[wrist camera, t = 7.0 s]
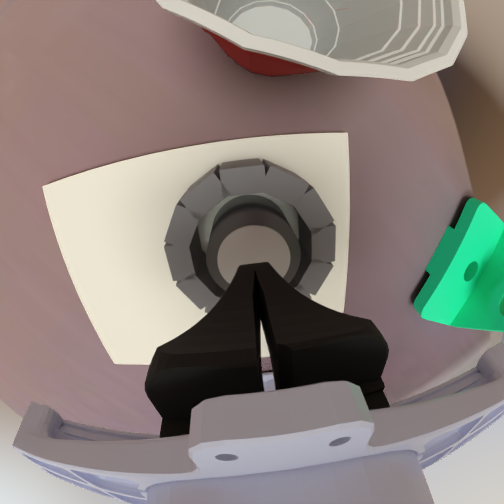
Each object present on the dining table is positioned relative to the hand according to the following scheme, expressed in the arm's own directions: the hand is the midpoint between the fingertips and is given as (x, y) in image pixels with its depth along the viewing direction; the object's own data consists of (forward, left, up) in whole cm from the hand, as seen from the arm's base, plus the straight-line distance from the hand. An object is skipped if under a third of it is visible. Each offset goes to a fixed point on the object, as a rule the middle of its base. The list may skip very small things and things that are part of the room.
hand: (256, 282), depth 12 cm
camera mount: (-6, -20, -8) cm, 22 cm away
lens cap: (0, 0, -6) cm, 7 cm away
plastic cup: (+13, -3, -8) cm, 15 cm away
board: (-3, +4, -7) cm, 9 cm away
